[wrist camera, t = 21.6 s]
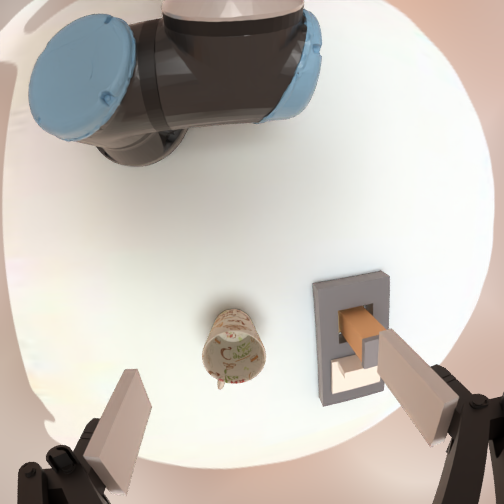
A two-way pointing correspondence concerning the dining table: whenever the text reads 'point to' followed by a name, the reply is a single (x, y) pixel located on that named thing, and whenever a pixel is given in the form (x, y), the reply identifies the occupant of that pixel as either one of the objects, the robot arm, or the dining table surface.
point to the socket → (327, 325)
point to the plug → (361, 334)
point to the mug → (233, 349)
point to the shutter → (351, 374)
